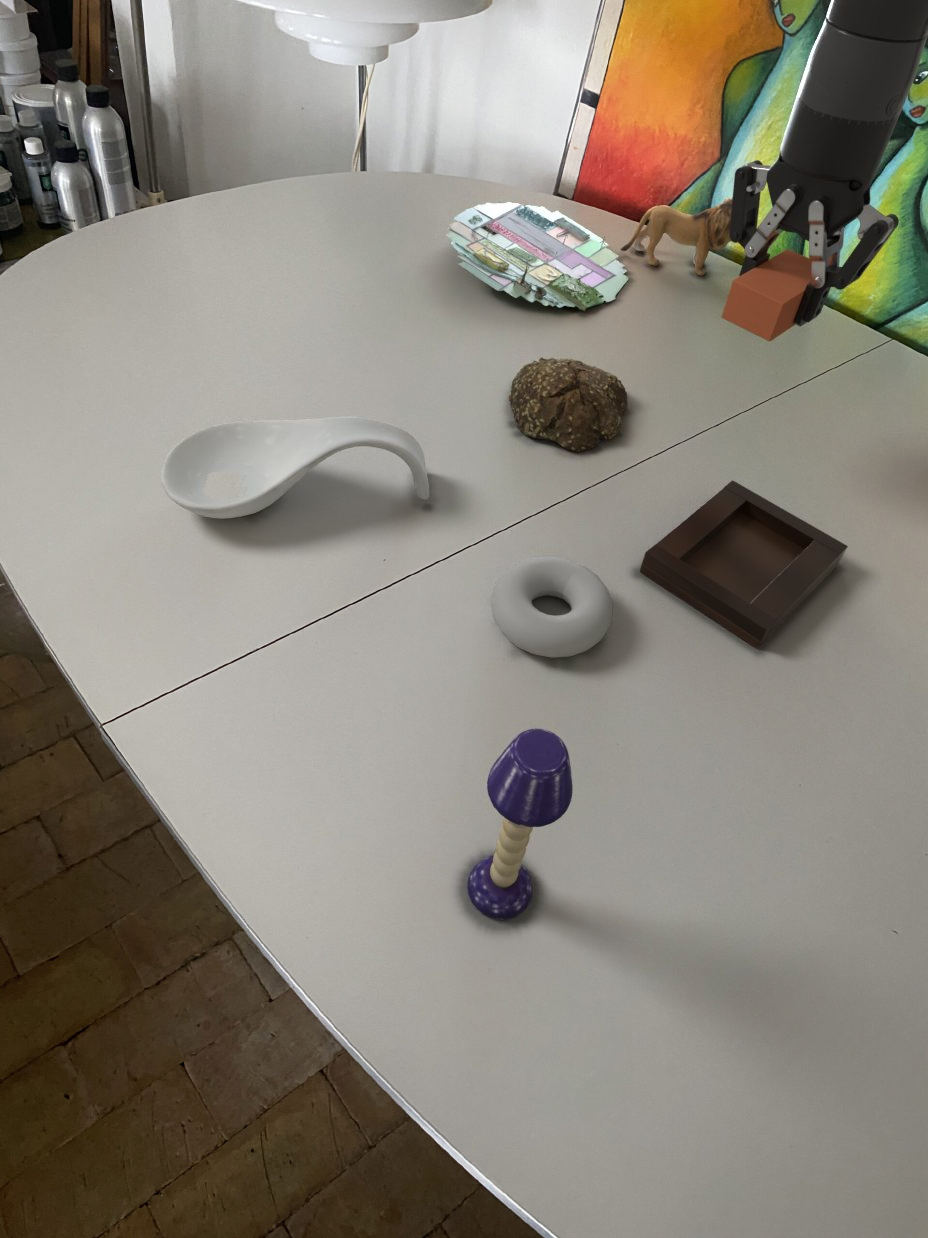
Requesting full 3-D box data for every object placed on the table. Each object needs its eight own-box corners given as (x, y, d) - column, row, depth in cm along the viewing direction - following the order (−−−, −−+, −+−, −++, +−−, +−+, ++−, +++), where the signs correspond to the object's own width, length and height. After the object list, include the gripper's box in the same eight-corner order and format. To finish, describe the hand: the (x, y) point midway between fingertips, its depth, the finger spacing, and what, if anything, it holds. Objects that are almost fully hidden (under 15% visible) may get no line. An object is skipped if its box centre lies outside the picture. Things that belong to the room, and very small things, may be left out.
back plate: (724, 499, 84) (732, 479, 82) (837, 565, 79) (848, 545, 77) (639, 571, 77) (645, 551, 75) (756, 649, 72) (766, 629, 70)
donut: (472, 644, 70) (592, 681, 68) (474, 616, 68) (598, 654, 66) (511, 563, 77) (621, 595, 75) (514, 534, 74) (629, 566, 72)
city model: (603, 352, 103) (619, 305, 98) (416, 290, 104) (423, 241, 99) (634, 259, 119) (650, 215, 114) (472, 206, 120) (481, 161, 115)
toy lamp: (505, 840, 59) (536, 697, 46) (555, 890, 57) (602, 754, 44) (453, 885, 57) (471, 748, 44) (503, 939, 55) (537, 810, 42)
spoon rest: (163, 544, 75) (145, 480, 70) (172, 457, 83) (156, 393, 77) (435, 527, 79) (438, 465, 73) (420, 445, 86) (421, 383, 81)
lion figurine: (730, 261, 115) (751, 191, 108) (731, 280, 112) (753, 210, 105) (620, 245, 116) (634, 175, 110) (617, 263, 113) (632, 193, 106)
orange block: (774, 284, 81) (787, 248, 78) (822, 307, 79) (837, 270, 76) (720, 317, 76) (732, 279, 74) (769, 342, 74) (783, 303, 72)
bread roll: (517, 370, 96) (522, 329, 92) (629, 389, 95) (639, 348, 91) (496, 440, 87) (501, 398, 84) (618, 462, 86) (629, 421, 83)
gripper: (964, 116, 63) (866, 328, 76) (792, 58, 69) (729, 264, 82) (918, 141, 59) (823, 359, 72) (741, 77, 66) (683, 289, 78)
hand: (773, 307), depth 77 cm, fingers closed on orange block, 5 cm apart
